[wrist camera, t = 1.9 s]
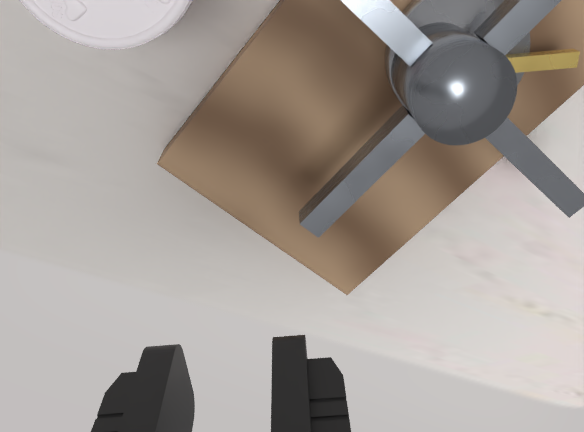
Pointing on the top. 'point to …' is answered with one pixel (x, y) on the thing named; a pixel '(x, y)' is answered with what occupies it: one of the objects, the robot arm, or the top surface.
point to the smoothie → (108, 20)
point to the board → (339, 134)
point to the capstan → (450, 93)
